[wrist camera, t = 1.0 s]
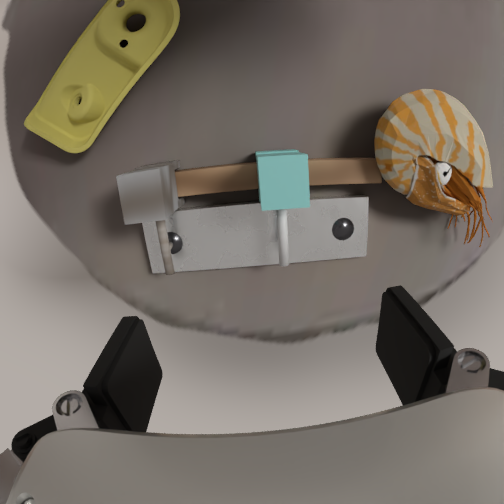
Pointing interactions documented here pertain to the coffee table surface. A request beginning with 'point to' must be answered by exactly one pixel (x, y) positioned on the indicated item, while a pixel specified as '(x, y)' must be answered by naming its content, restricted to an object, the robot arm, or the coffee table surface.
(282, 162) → the block
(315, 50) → the coffee table surface
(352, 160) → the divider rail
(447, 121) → the nautilus
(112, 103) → the plastic component
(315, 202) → the bolt plate
